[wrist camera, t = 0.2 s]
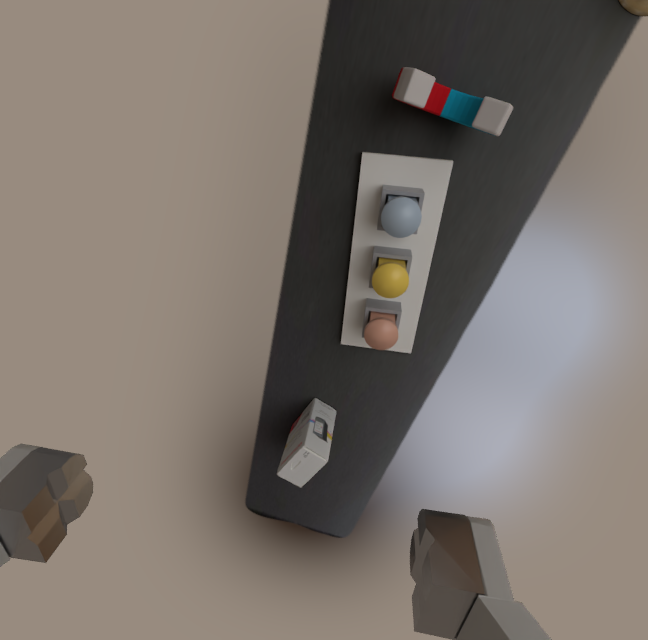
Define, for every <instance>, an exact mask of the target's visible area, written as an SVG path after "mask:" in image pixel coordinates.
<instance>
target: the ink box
mask: <svg viewBox="0 0 648 640" xmlns="http://www.w3.org/2000/svg"><path fill="white" fill-rule="evenodd" d="M335 416H336V410H335V409H333V408H332V407H330V406H328V405H327V404H325V403H323V402H322V401H320V400H318V399H317V398H314V399H313V400H312V401H311V403H310V404H309V405H308V406H307V408H306V409H305V410H304V411H303V413H302V414H301V415H300V416H299V418H298V419H297V420H296V421H295V422H294V424H293V425H292V427H291V430H290V434H289V436H288V440H287V443H286V446H285V449H284V453H283V456H282V459H281V462H280V465H279V468H278V471H277V475H279V476H280V477H282V478H284V479H286V480H288V481H289V482H291V483H293V484H294V485H296V486H298V487H300V488H301V487H302V486H303V485H304V484H305V483H306V482H307V481H308V480H310V479H311V478H312V477H313V476H314V475H315V474H316V473H317V472H318V471H319V470H320V469H321V468H322V467H323V466H324V465H325V464H326V463H327V462H328V458H329V452H330V446H331V440H332V434H333V428H334V422H335Z"/></svg>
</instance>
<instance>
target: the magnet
mask: <svg viewBox="0 0 648 640" xmlns="http://www.w3.org/2000/svg"><path fill="white" fill-rule="evenodd" d="M392 97H393V98H394V99H396V100H398V101H401V102H403V103H406V104H408V105H411V106H413V107H416V108H419V109H421V110H424V111H427V112H429V113H432V114H435V115H437V116H440V117H443V118H446V119H448V120H451V121H454V122H457V123H459V124H462V125H465V126H468V127H471V128H474V129H476V130H479V131H482V132H485V133H488V134H491V135H494V136H499V135H500V134H501V132H502V130H503V128H504V126H505V124H506V122H507V120H508V118H509V116H510V114H511V112H512V110H513V106H512V105H511V104H510V103H506V102H503V101H500V100H497V99H494V98H490V97H485V98H479V97H475V96H472V95H468V94H465V93H462V92H459V91H456V90H454V89H451V88H448V87H446V86H443V85H441V84H438V83H436V82H435V77H434V76H431V75H429V74H427V73H425V72H422V71H420V70H418V69H416V68H410V67H404V68H402V69H401V71H400V73H399V76H398V79H397V82H396V85H395V88H394V91H393V93H392Z"/></svg>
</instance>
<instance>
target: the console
mask: <svg viewBox="0 0 648 640" xmlns="http://www.w3.org/2000/svg"><path fill="white" fill-rule="evenodd" d="M452 165H453V160H446V159H436V158H425V157H414V156H404V155H393V154H383V153H372V152H362V160H361V169H360V178H359V187H358V196H357V205H356V214H355V222H354V231H353V240H352V249H351V258H350V267H349V276H348V285H347V293H346V302H345V311H344V320H343V329H342V338H341V344H345V345H352V346H360V347H367V348H372V347H370V346H369V345H368V344H367V343H366V341H365V338H364V330H365V327H366V325H367V323H368V322H369V319H370V312H371V311H374V312H382V313H390V314H395V324H396V326H397V328H398V340H397V342H396V344H395V345H394V346H393V347H391V348H389V349H386V350H390V351H397V352H405V353H411V351H412V346H413V342H414V337H415V333H416V328H417V324H418V319H419V315H420V310H421V306H422V301H423V297H424V292H425V288H426V283H427V279H428V274H429V269H430V265H431V260H432V256H433V251H434V247H435V242H436V238H437V233H438V229H439V224H440V220H441V215H442V211H443V206H444V201H445V197H446V192H447V188H448V183H449V179H450V174H451V170H452ZM388 194H392V195H402V196H412V197H416V199H417V202H418V206H419V208H420V210H421V215H422V218H421V223H420V226H419V227H418V229H417V230H416V231H415V232H414V233H413V234H412V235H410V236H408V237H404V238H396V237H393V236H391V235H389V234H388V233H387V232H386V231H385V230H384V228H383V226H382V223H381V213H382V210H383V208H384V206H385V205H386V203H387V199H388ZM379 257H383V258H392V259H400V260H405V265H406V270H407V272H408V276H409V285H408V288H407V290H406V291H405V292H404V293H403V294H402V295H400V296H398V297H396V298H384V297H382V296H380V295H378V294H377V293H376V292H375V290H374V289H373V286H372V276H373V272H374V271H375V269H376V268H377V265H378V259H379Z"/></svg>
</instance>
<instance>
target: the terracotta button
mask: <svg viewBox="0 0 648 640" xmlns="http://www.w3.org/2000/svg"><path fill="white" fill-rule="evenodd" d="M364 338H365V341H366V343H367V344H368V345H369V346H370V347H372V348H374V349H377V350H386V349H389V348H391V347H393V346H394V345H395V344H396V342H397V340H398V328H397V326H396V324H395V314H390V313H382V312H374V311H371V312H370V319H369V322H368V323H367V325H366V327H365V330H364Z"/></svg>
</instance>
